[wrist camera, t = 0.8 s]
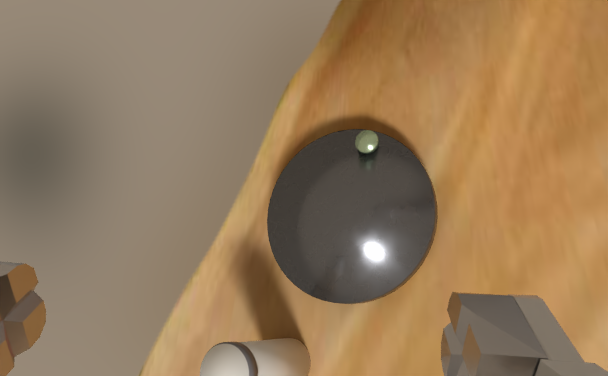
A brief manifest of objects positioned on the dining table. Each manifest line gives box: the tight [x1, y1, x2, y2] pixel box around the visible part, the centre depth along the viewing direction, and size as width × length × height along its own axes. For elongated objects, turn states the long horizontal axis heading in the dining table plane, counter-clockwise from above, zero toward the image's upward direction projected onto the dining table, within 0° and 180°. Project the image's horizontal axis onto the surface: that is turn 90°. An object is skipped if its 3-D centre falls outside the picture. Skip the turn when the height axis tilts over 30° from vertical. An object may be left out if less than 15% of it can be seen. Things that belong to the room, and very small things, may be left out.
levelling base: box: [267, 129, 437, 304], centre depth 46 cm, size 18×18×4 cm
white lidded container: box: [200, 338, 310, 376], centre depth 41 cm, size 5×5×12 cm
